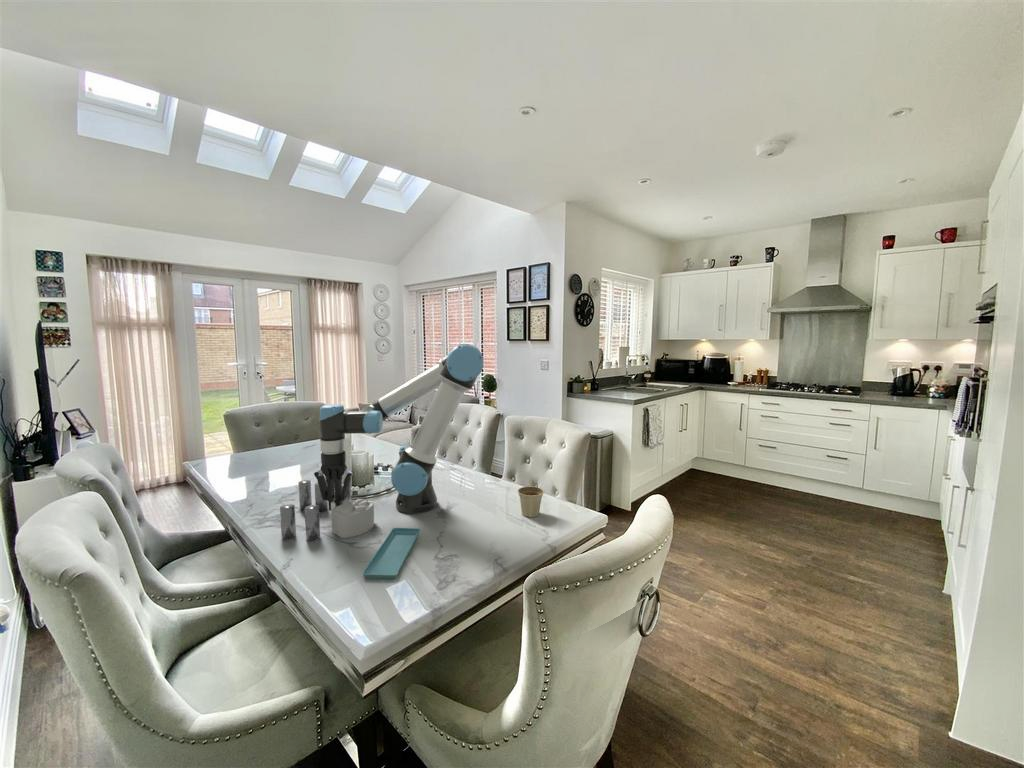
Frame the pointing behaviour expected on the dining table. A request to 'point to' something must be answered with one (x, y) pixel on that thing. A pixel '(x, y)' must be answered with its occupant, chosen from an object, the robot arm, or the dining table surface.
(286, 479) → the dining table surface
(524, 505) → the flower pot
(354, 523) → the lumpy-topped squat cylinder
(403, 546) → the rectangular tray
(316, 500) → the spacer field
